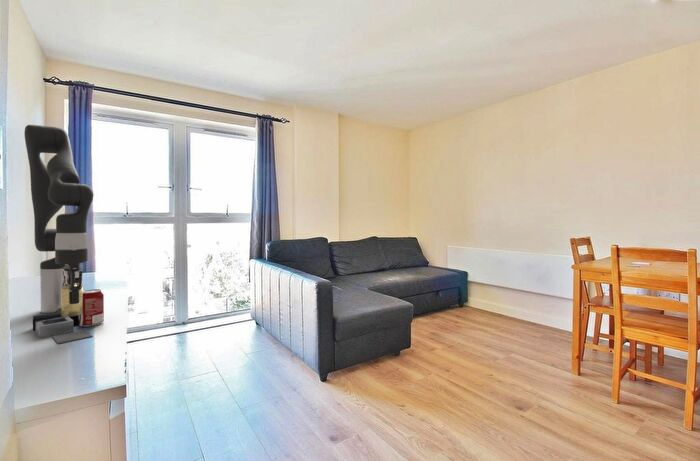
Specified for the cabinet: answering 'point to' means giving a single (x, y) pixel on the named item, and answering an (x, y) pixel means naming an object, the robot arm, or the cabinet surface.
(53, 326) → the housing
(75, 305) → the brass cylinder
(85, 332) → the mat
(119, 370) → the cabinet surface
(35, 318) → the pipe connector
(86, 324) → the soda can
